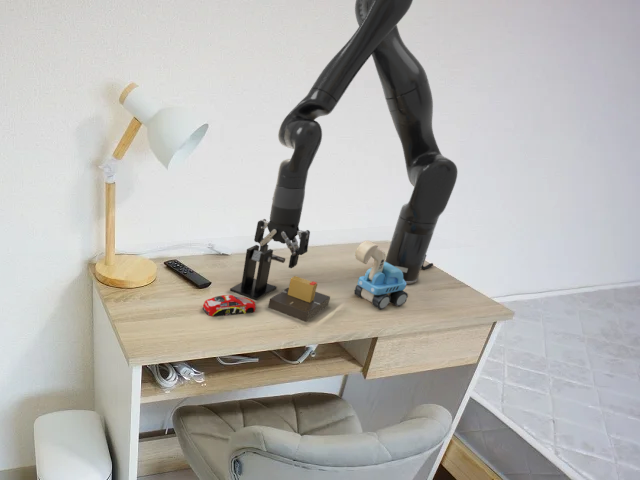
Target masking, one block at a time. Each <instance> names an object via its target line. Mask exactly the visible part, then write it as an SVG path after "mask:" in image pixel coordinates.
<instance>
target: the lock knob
mask: <svg viewBox="0 0 640 480" xmlns="http://www.w3.org/2000/svg"><path fill="white" fill-rule="evenodd" d="M288 287H289V290H288V295H290V296H292V297H295V298H298V299H301V300H304V301H306V302H309V303H310V302H312V301H313V300H314V296H315V292H317V288H318V282H317V281H311V280H308V279H306V278H302V277H299V276H296V275H294V276H292V277H291V278H290V281H289V285H288Z"/></svg>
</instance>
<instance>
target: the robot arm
mask: <svg viewBox="0 0 640 480" xmlns="http://www.w3.org/2000/svg"><path fill="white" fill-rule="evenodd" d="M413 1H414V0H355V4H354V13H355V14H354V15H355V19H356V22H357V24H358V27H357V28H356V30H355V32H354V34H352V36H351V37H350V38H349V39H348V41H347V42H346V43H345V44H344V46H342V48H341V49H339V51H337V53H336V54H335V55H334V56H333V57H332V58H331V59H330V61H329V62H328V63H327V64H326V65H325V67H324V68H323V69H322V70H321V72H320V74H319V75H318V77H317V78H316V80H315V82H314V83H313V85H312V86H311V87H310V89H309V91H308V93H307V95H306V96H304V97H303V98H302V99H301V101H299V102H298V103H297V104H296V105H295V107H293V109H292V110H290V112H289V113H288V114H287V115H285V117H284V119H282V122H281V123H280V125H279V129H278V133H277V138H278V142H279V143H280V145H282V146H283V147H285V148H288V149H292V150H293V151H292V152H293V153H292V155H291V157H290V158H286V159H283V160H282V161H281V162H280V164H279V167H278V171H277V177H276V182H275V183H276V184H275V188H274V191H273V195H272V198H271V199H272V201H271V208H270V214H269V215H270V216H269V221H267V219H265V218H263V219H260V220H258V221H257V225H256V229H255V234H254V242H255V243H258V244H259V251H262V252H265V251H267V250H269V245H268V244H269V243H270V242H271V241H272V240H273V242H279V243H281V244H283V245H286V247H287V249H289V251H290V253H291V254H290V257H289V262H288V268H289V269H294V268H295V267H296V266H297V265H298V261H299V256H302V255H304V254H306V253H308V249H309V241H310V235H311V231H310V230H309V229H306V230H301V229H300V227H299V225H300V222H301V216H302V212H303V207H304V203H305V202H304V201H305V197H306V196H305V194H306V186H307V181H308V175H309V170H310V168H311V166H312V164H313V162H314V160H315V158H316V155H317V153H318V151H319V149H320V147H321V144H322V140H323V129H322V126H321V123H319V122H318V121H317V119H318V118H320V117H325V116H328V115H330V114H331V113H332V112H333V111H334V110H335V108H336V107H337V105H338V103H339V102H340V100H341V99H342V97H343V96H344V94H345V93H346V91H347V90H348V88H349V86H350V85H351V83H352V82H353V81H354V79H355V78H356V76H357V75H358V73H359V72H360V71H361V69H362V68H363V66H364V65H365V64H366V63H367V61H368V60H369V58H370V57H372V61H373V63H374V67H375V70H376V73H377V76H378V79H379V82H380V85H381V89H382V93H383V96H384V99H385V102H386V105H387V109H388V112H389V115H390V117H391V120H392V123H393V126H394V129H395V131H396V133H397V137H398V138H399V141H400V143H401V147H402V151H403V157H404V162H405V169H406V174H407V178H408V181H409V183H410V184H411V186H413V190H412V193H411V196H410V198H409V201H408V202H407V203H404V204H403V205H402V206H401V208H400V211H399V214H398V217H397V221H396V224H395V227H394V230H393V234H392V238H391V240H390V244H389V247H388V251H387V254H386V258H385V262H387V263H389V264H391V265H393V266H395V267H396V268H398V269H400V270H401V271H402V273H403V279H404V280H405V282H406V285H412V284H415V283H417V281H418V280H419V275H420V273H421V270H424V271H425V270H427V269H430V268H431V267H433V266H434V263H433V262H430V263H428V264H427V265H425V266H424V264H425V261H426V258H427V255H428V254H427V253H428V249H429V248H430V247H429V246H430V244H431V241H432V239H433V235H434V233H435V229H436V226H437V224H438V221H439V218H440V216H441V215H442V214H443V213H444V212H445V209H446V207H447V206H448V203H449V201H450V198H451V195H452V193H453V191H454V188H455V185H456V183H457V178H458V167H457V165H456V163H455V162H454V161H453V160H452V159H449V158H448V157H446V156H444V155H443V154H442V152H441V150H440V148H439V146H438V143H437V140H436V138H435V134H434V130H433V117H434V115H433V113H434V101H433V100H434V99H433V94H432V89H431V85H430V82H429V79H428V75H427V72H426V70H425V68H424V66H423V65H422V64H421V62H420V61H419V60H418V59H417V57H416V56H415V55H414V54H413V53H412V52H411V50H410V49H409V48H408V47H407V46H406V44H405V43H404V41H403V39H402V37H401V34H400V31H399V28H398V24H399V23H400V21H401V20H402V19H403V18H404V17H405V16H406V14H407V13H408V12H409V10H410V8H411V6H412V5H413ZM266 229H267V230H268V234H267V235H265V237H264V234H265V230H266ZM297 236H298V239H299V241H298V239H297Z"/></svg>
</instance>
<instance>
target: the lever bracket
mask: <svg viewBox="0 0 640 480" xmlns="http://www.w3.org/2000/svg"><path fill="white" fill-rule="evenodd" d="M254 250H257V251H260V245H258V244H255V245H253V246H251V247H248V248H247V249H246V253H245V258H244V259H245V260H244V265H243V272H242V279H241V282H240V283H238V284H236V285H234V286H232V287H231V288H229V291H230V292H232V293H235V294H237V295H240V296H242V297H244V298H248V299H251V300H253V301H254V302H255V301H256V302H257V301H258V300H261V299H262V298H263V297H265V296H267V295H269V294H271V293H272V292H274V291H275V290H277V286H276V285H273V284H271V283H268V281H269V275H270V270H271V264H272V261H273V260H272V254H273V252H274V249H271V248H268V250H267V251H265V252H263V253H261V255H260V261H259V262H258V261H255V260H252V255H253V252H254ZM273 255H274V254H273ZM257 262H258V267H257ZM256 270H257V272H256ZM256 273H257V274H256ZM255 275H256V278H255Z"/></svg>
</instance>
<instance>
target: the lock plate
mask: <svg viewBox="0 0 640 480" xmlns="http://www.w3.org/2000/svg"><path fill="white" fill-rule="evenodd" d="M288 290H289V286H288V287H287V288H285V289H284V290H281V291H280V292H278V293H277V294H275V295H273V296H272V297H270V298H269V302H268V306H267V307H268V309H271V310H274V311H276V312H278V313H282V314H284V315H286V316H289V317H291V318H294V319H297V320H300V321H303V322H307V321H309V320H310V319H312V318H313V317H314V316H316V315H317V314H319V313H320V312H322V311H323V310H324V309H325V308H327V307H328V306H329V305H330V300H331V296H330V295H326V294H324V293H321V292H317V291H316V292H315V296H314V300H313V301H312V302H310V303H309V302H306V301H304V300H301V299H298V298H295V297H292V296H290V295H288Z"/></svg>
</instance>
